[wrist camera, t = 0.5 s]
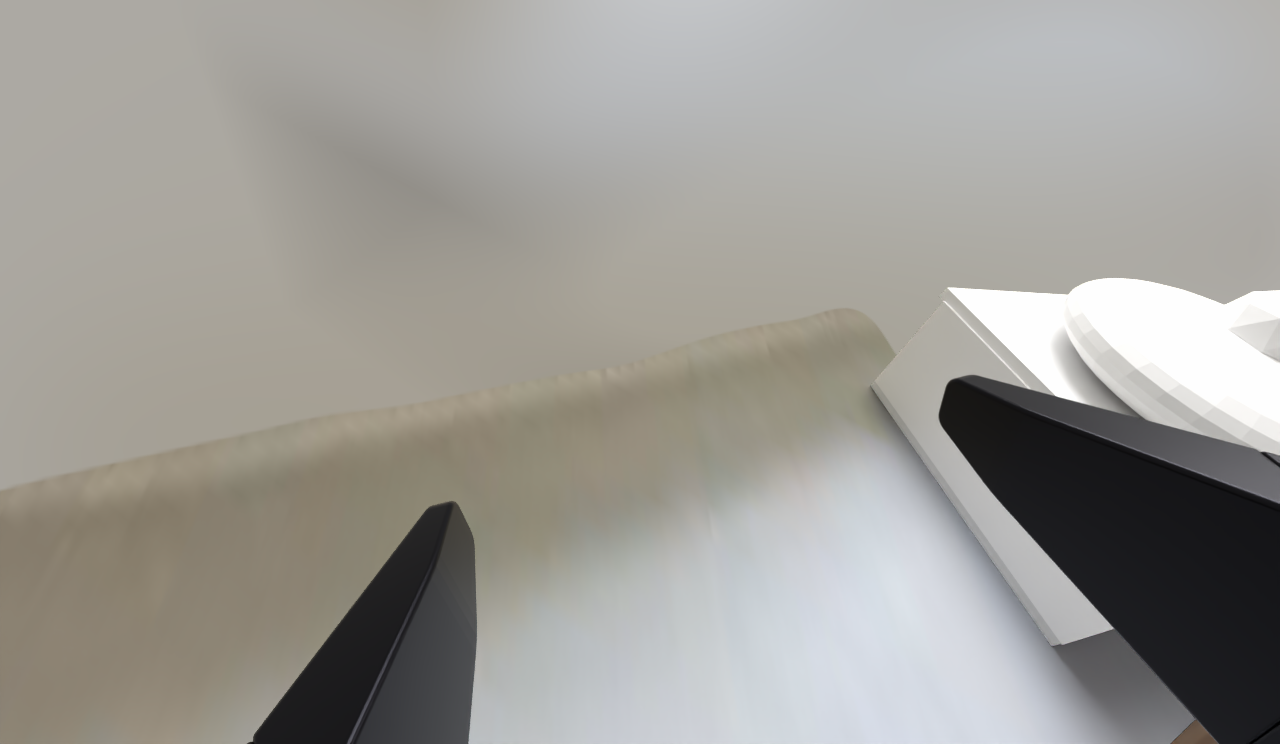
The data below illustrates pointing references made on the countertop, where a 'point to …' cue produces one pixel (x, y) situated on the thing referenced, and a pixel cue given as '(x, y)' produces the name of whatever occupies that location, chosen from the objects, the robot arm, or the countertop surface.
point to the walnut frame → (1194, 735)
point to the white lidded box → (1085, 394)
